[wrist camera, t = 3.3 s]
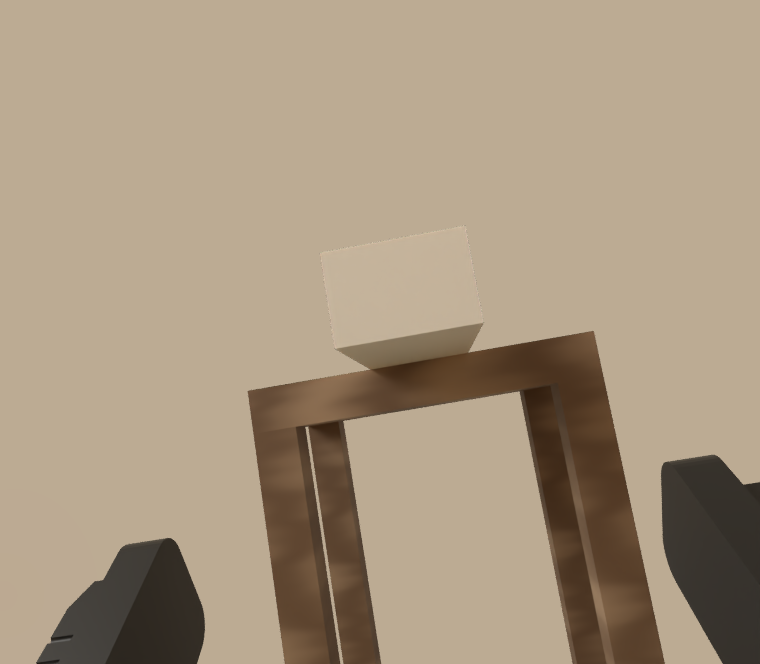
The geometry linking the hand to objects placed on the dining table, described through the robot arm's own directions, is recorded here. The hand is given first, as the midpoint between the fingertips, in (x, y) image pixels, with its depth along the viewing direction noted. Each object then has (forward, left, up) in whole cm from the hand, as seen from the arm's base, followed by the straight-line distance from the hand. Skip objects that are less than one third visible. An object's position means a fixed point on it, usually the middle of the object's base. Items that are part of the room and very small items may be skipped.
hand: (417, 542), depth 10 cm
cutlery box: (0, +21, +4) cm, 21 cm away
